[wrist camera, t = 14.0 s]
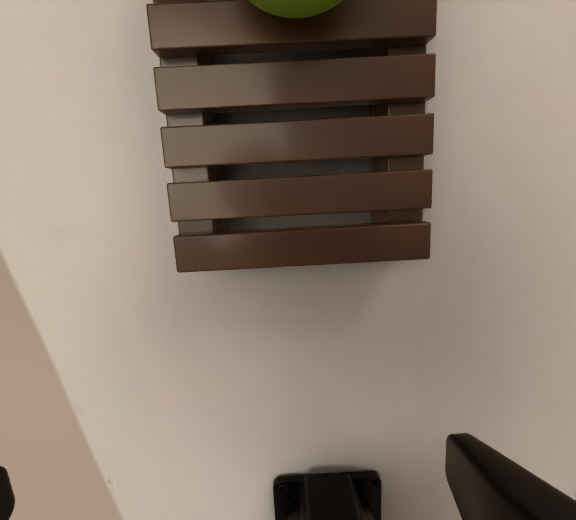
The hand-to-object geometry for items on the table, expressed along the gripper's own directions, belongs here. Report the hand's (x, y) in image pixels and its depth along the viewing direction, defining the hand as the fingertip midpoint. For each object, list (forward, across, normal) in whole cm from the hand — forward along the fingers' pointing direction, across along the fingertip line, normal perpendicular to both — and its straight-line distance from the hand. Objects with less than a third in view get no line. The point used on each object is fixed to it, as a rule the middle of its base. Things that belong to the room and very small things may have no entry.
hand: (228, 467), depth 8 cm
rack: (+13, -2, -9) cm, 16 cm away
